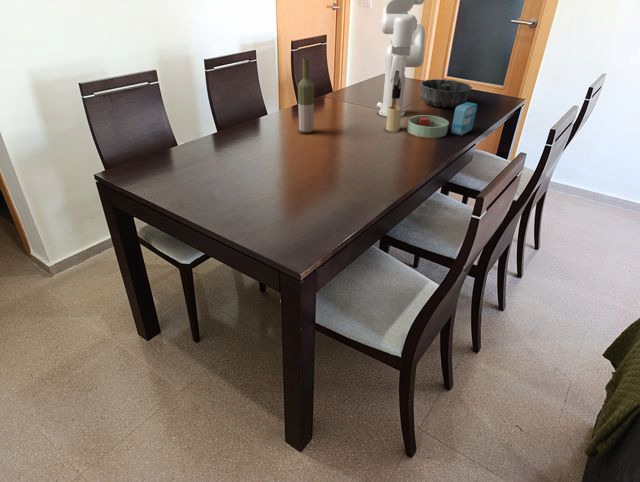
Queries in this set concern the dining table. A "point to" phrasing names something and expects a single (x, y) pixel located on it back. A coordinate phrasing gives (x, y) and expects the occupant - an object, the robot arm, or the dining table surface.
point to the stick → (393, 103)
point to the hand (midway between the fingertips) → (395, 97)
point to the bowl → (430, 132)
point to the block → (424, 121)
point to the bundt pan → (444, 92)
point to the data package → (464, 118)
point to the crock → (393, 118)
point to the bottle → (306, 100)
